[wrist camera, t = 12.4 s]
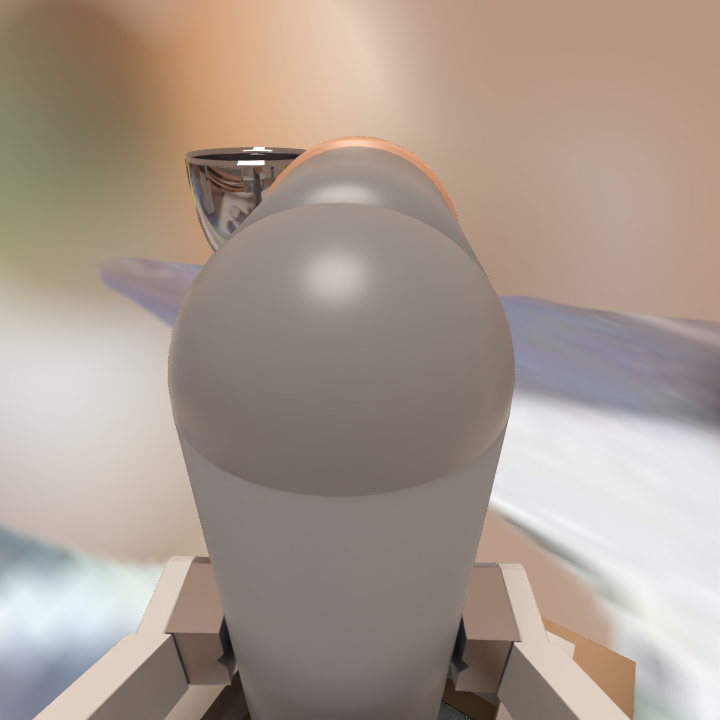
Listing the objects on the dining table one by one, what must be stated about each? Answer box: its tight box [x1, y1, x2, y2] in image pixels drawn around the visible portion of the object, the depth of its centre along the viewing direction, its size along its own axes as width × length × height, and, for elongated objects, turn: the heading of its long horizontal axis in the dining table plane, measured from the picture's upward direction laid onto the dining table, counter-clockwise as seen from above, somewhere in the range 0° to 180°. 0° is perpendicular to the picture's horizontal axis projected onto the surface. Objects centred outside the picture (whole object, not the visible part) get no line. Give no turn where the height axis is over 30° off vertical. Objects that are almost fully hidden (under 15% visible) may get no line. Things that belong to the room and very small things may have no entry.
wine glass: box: [185, 147, 307, 252], centre depth 32 cm, size 8×8×15 cm
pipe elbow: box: [168, 136, 515, 720], centre depth 10 cm, size 8×5×15 cm, turn 178°
